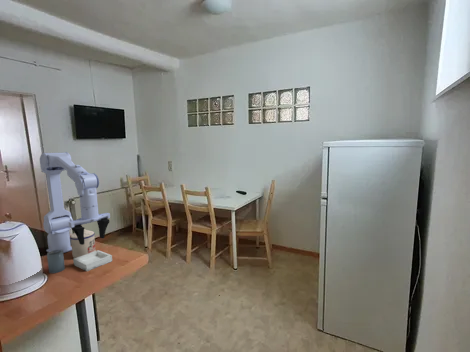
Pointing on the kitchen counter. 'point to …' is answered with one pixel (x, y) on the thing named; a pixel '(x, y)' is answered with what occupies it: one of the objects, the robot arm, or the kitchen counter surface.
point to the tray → (92, 260)
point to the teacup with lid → (86, 247)
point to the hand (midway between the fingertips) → (92, 240)
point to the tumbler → (55, 261)
